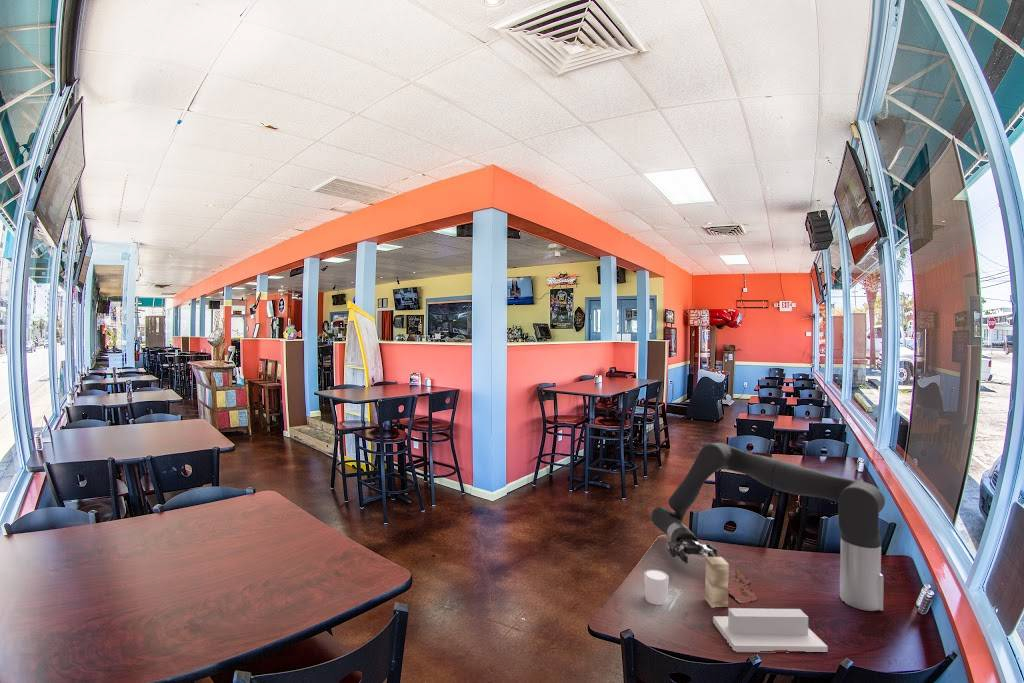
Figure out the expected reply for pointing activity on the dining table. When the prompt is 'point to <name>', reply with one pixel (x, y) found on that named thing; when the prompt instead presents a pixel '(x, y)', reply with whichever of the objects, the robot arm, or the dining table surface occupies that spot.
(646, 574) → the white cylinder
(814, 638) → the ridge stand
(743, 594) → the wooden fragment
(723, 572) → the maple block
